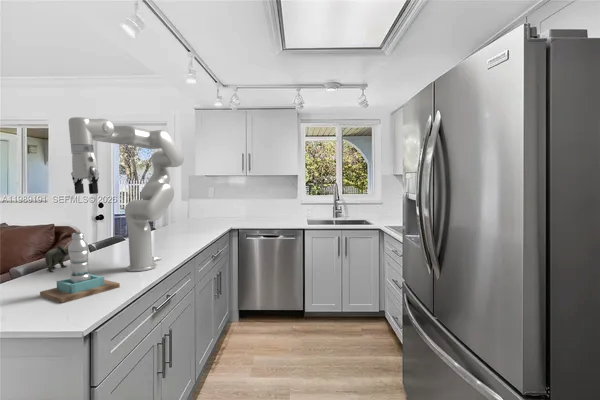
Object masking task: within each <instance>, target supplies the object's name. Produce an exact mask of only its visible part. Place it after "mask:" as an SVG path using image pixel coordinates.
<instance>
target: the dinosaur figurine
mask: <svg viewBox="0 0 600 400" xmlns="http://www.w3.org/2000/svg"><path fill="white" fill-rule="evenodd" d="M69 245H70V244H67V246H66V247H63V246H61V245H59V244H58V245H57V248H51V249H50V250H48V251H47V252H45V256H44V259H45V264H46V266H43V267H42V268H43V269H46V271H48V273H54V271H53V269H55V268H56V265H57V264H59V265H60V268H62V269H64V268H66V267H68V266H67V265H66V264H64V261H65V258H66V257H67V256H69V252H68V246H69Z"/></svg>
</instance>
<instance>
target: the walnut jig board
mask: <svg viewBox="0 0 600 400" xmlns="http://www.w3.org/2000/svg"><path fill="white" fill-rule="evenodd" d="M90 277H91V280H87V281H83V282H79V283H75V284H71V283H70V278H69V277H68V278H66V279H61V280H56V287H54V288H50V289H45V290H42V291H39V297H43V298H45V299H48V300H51V301H54V302H57V303H61V304H65V303H68V302H72V301H75V300H79V299H82V298H86V297H89V296H92V295H93V296H94V295H96V294H100V293H103V292H107V291H111V290H114V289H117V288H120V286H121V284H120V283H119V282H117V281H111V280H108V279H105V277H104V276H100V275H96V274H91V273H90Z"/></svg>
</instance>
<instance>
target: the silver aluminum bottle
mask: <svg viewBox="0 0 600 400" xmlns="http://www.w3.org/2000/svg"><path fill="white" fill-rule="evenodd" d="M84 239H85V236H84V232H73V233H71V240H72V241H71V242H70V245H69V244H68V245H69V246H68V245H67V246H68V252H69V255H68V256H69V260H70V283H71V284H75V283H79V282H83V281H87V280H91V277H90V274H91V273H90V269H89V262H88V261H89V259H88V258H89V245H88V243H87V242H86V240H84Z"/></svg>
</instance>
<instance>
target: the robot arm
mask: <svg viewBox="0 0 600 400" xmlns="http://www.w3.org/2000/svg"><path fill="white" fill-rule="evenodd" d="M68 132H69V133H68V134H69V140H70V142H69V143H70V151H71V152H70V153H71V155H72V157H71V165H72V166H71V167H72V171H71V173H70V176H71V179H72V181H73V185H74V193H75V195H80V194H84V193H85V190H84V183H83V180H85V179H86V180H87V181H88V193H89V194H90V195H93V194H95V195H96V194H99V188H98V187H99V186H98V183H99V179H100V177H99V176H100V171H99V169H98V162H97V158H96V155H95V153H94V152H95V150H94V141H97V142H101V143H109V144H118V145H125V146H132V147H136V148H137V147H138V148H140V149H147V150H158V149H161V150H158V151H154V153H152V154H151V155H152V156H151V164H152V167H153V172H152V175H151V176H150V177H149V179H148V180H147V182H146V183H145V184H144V186H142V189H141V191H140V197H141V199H135V200H130V201H129V202H128V203H126V205H125V208H124V216H125V219H126V224H127V234H128V252H129V253H128V254H129V265H127V266H126V268H125V269H126V271H128V272H144V271H149V270H152V269H155V268H156V267H157V264H156V262H159V261H161V260H162V257H161V256H153V249H152V247H153V245H152V229H151V225H150V223H149V222H156V221H158V220H159V219H160V218H161V217H162V216H163V215H164V213H165V212H166V211H167V209H168V208H169V206H170V204H171V203H172V201H173V200H174V196H175V189H174V187H173V185H172V184H170V182H171V175H170V171H169V168H177V167H180V166H181V165H183V163H184V154H183V152H182V150H181V149H180V147H179V146H178V145H177V143H176V141H175V140H174V139H173V138H172V137H171V135H170V134H169V133H168V132H167V131H165V130H164V129H163V130H162V129H158V130H148V129H145V128H140V127H138V126H137V127H136V126H132V125H114V124H113V123H112V122H111V121H110V120H108V119H105V118H88V117H81V116H79V117H78V116H77V117H76V116H75V117H74V116H73V117H71V118H69V119H68Z"/></svg>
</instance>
